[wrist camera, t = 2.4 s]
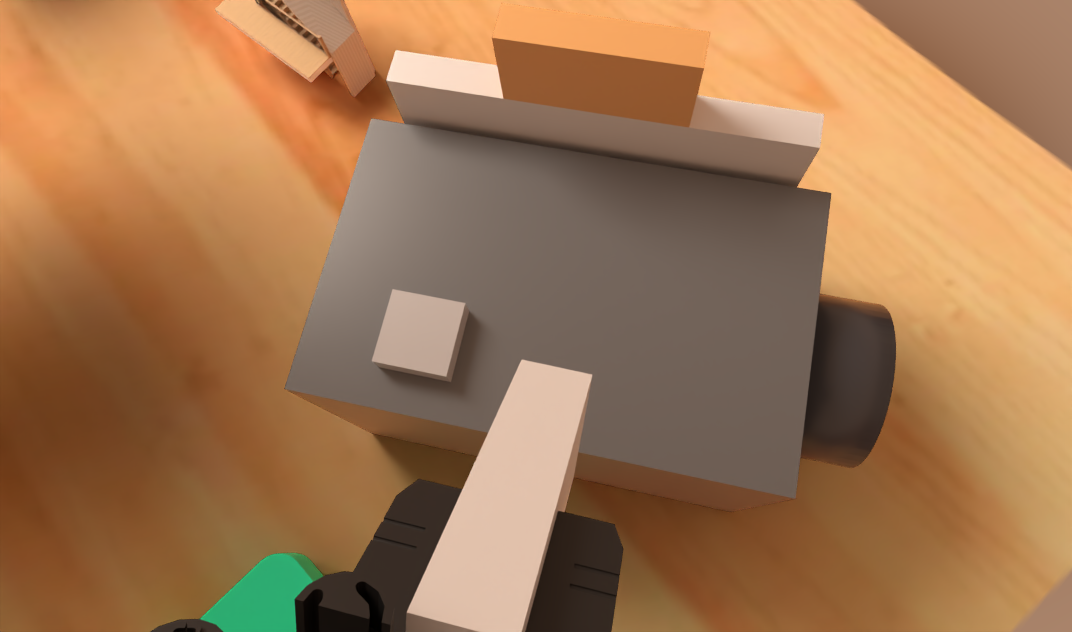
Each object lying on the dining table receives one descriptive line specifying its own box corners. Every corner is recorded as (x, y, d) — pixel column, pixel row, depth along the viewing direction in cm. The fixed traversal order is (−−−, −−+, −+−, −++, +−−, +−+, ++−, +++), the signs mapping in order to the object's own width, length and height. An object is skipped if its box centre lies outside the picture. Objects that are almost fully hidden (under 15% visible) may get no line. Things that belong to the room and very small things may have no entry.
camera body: (802, 527, 30) (914, 521, 20) (372, 433, 33) (273, 383, 22) (828, 304, 33) (937, 197, 23) (428, 231, 36) (364, 105, 25)
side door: (742, 278, 33) (854, 89, 19) (448, 225, 35) (358, 18, 21) (745, 254, 34) (858, 52, 20) (455, 203, 35) (370, -16, 22)
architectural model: (336, 123, 38) (280, 28, 31) (247, 56, 40) (174, -49, 33) (381, 78, 39) (335, -25, 32) (291, 14, 41) (228, -98, 34)
